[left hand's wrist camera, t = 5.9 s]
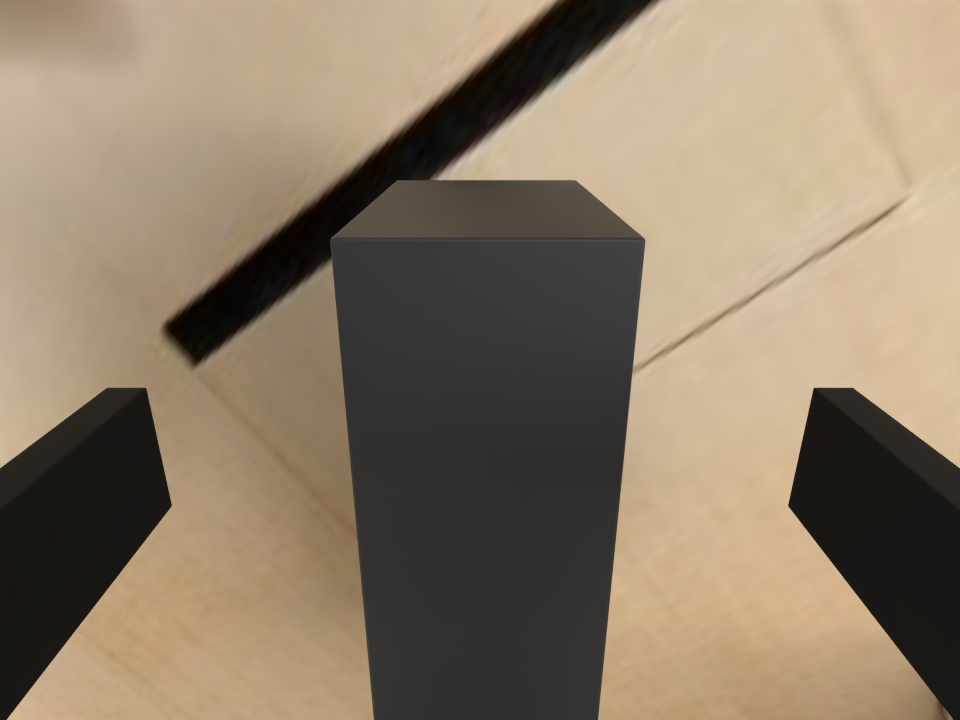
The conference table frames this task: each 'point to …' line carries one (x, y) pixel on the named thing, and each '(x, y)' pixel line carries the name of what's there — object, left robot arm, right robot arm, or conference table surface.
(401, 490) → the box
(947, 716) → the right robot arm
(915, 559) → the left robot arm
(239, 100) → the conference table surface
